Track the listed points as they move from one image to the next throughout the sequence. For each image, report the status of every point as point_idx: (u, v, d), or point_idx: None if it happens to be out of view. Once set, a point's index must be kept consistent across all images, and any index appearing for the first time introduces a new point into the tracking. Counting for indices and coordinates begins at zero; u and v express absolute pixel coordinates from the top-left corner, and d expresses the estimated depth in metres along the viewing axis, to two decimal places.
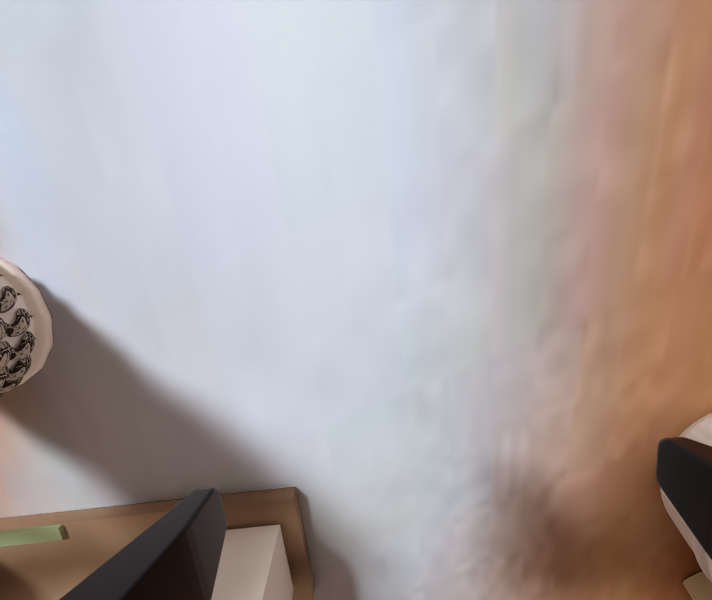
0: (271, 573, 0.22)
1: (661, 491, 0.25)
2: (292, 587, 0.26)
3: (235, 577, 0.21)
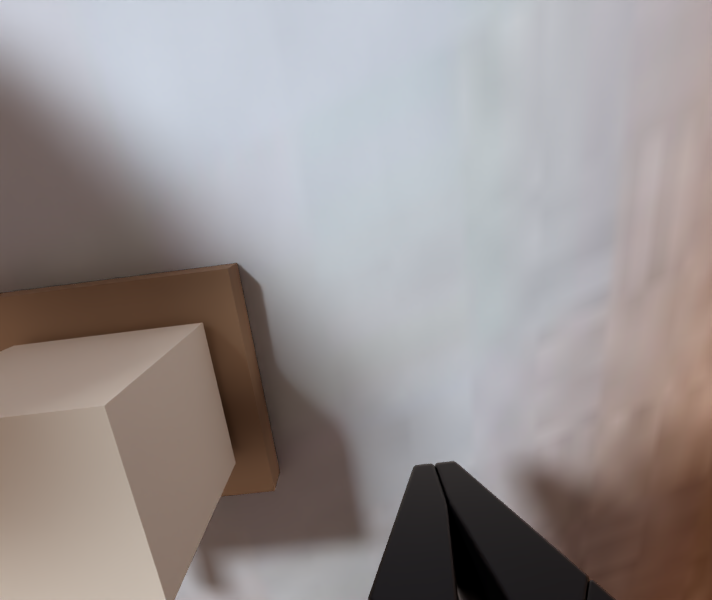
0: (162, 377, 0.10)
1: None
2: (233, 458, 0.14)
3: (72, 377, 0.09)
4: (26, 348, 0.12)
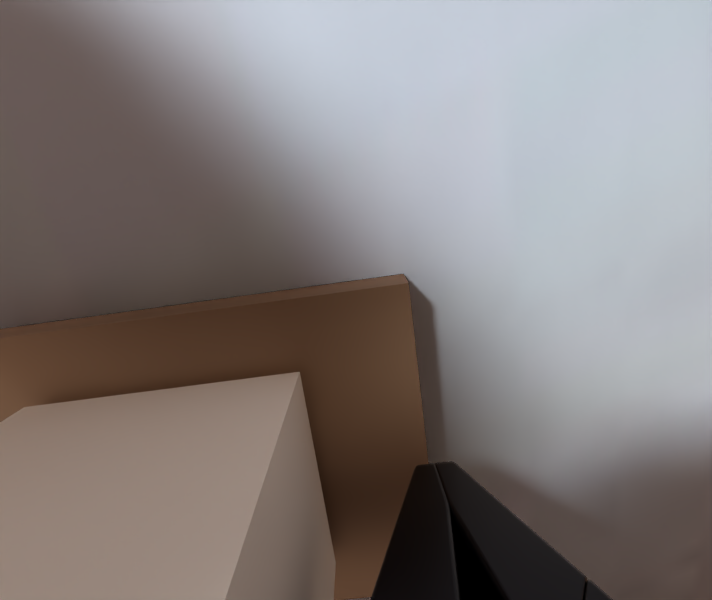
0: (277, 485, 0.06)
1: None
2: (333, 558, 0.10)
3: (132, 497, 0.05)
4: (43, 414, 0.08)
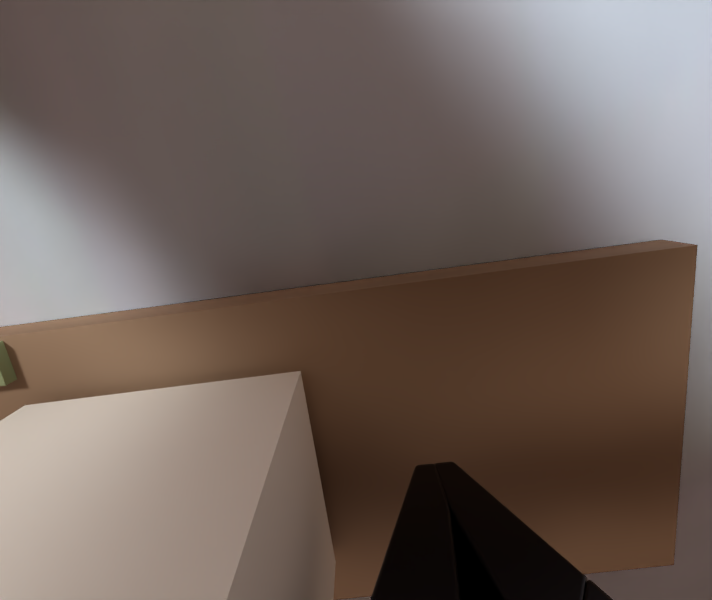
0: (278, 483, 0.06)
1: None
2: (333, 557, 0.10)
3: (134, 496, 0.05)
4: (44, 412, 0.08)
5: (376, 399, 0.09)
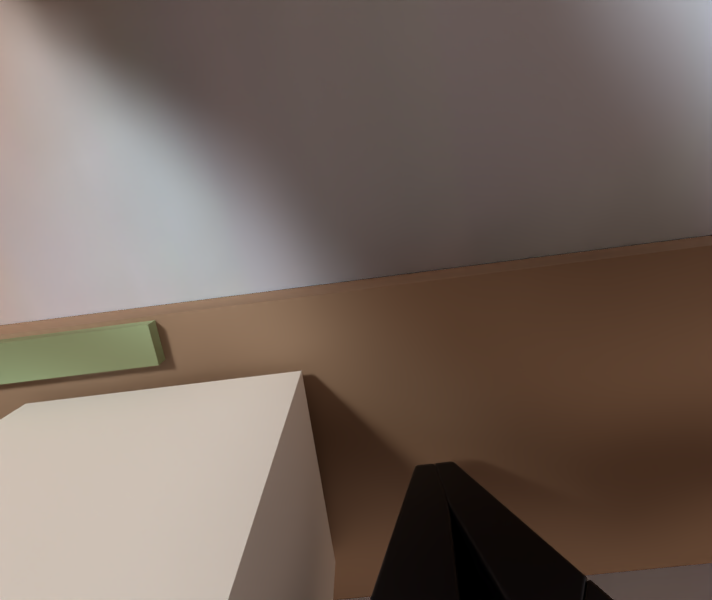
0: (279, 483, 0.06)
1: None
2: (333, 557, 0.10)
3: (135, 494, 0.05)
4: (45, 411, 0.08)
5: (527, 382, 0.09)
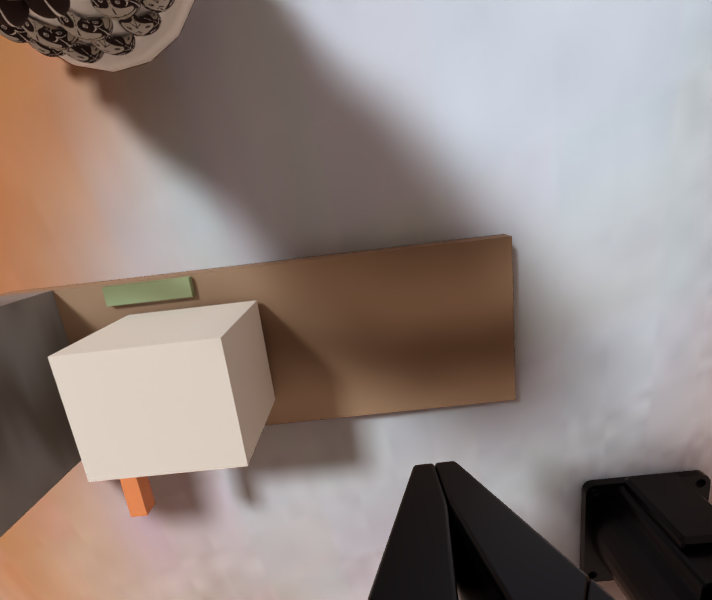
0: (241, 329, 0.16)
1: None
2: (273, 396, 0.20)
3: (189, 328, 0.15)
4: (140, 316, 0.18)
5: (365, 308, 0.19)
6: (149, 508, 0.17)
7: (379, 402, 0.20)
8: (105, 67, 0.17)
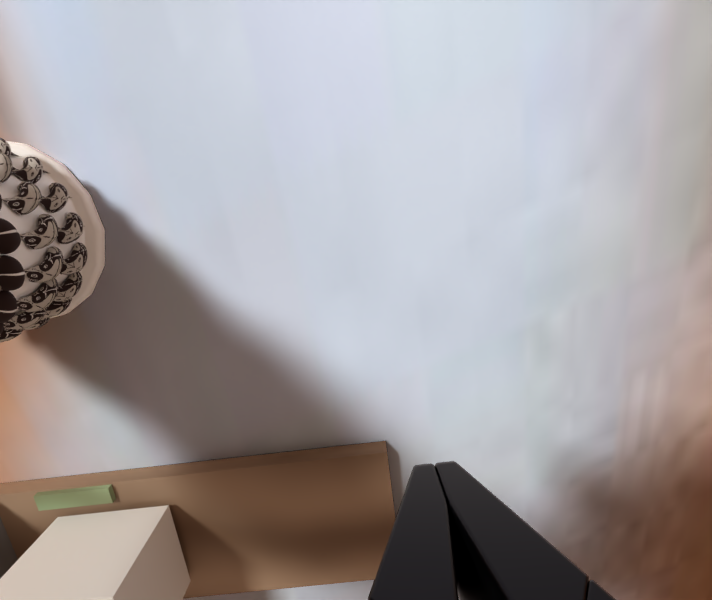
0: (142, 560, 0.19)
1: None
2: (188, 578, 0.22)
3: (96, 565, 0.18)
4: (66, 523, 0.21)
5: (265, 507, 0.22)
6: None
7: (283, 579, 0.23)
8: None
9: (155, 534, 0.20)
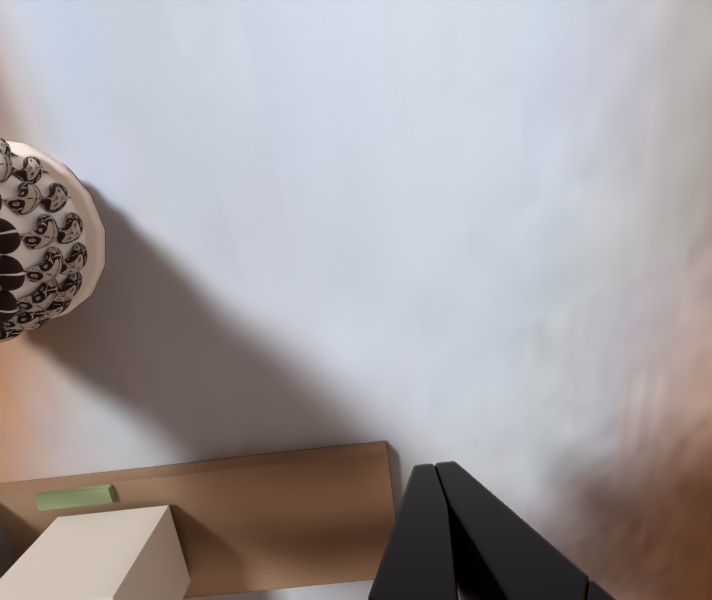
0: (142, 560, 0.19)
1: None
2: (188, 578, 0.22)
3: (96, 565, 0.18)
4: (66, 523, 0.21)
5: (265, 507, 0.22)
6: None
7: (283, 579, 0.23)
8: None
9: (155, 534, 0.20)
